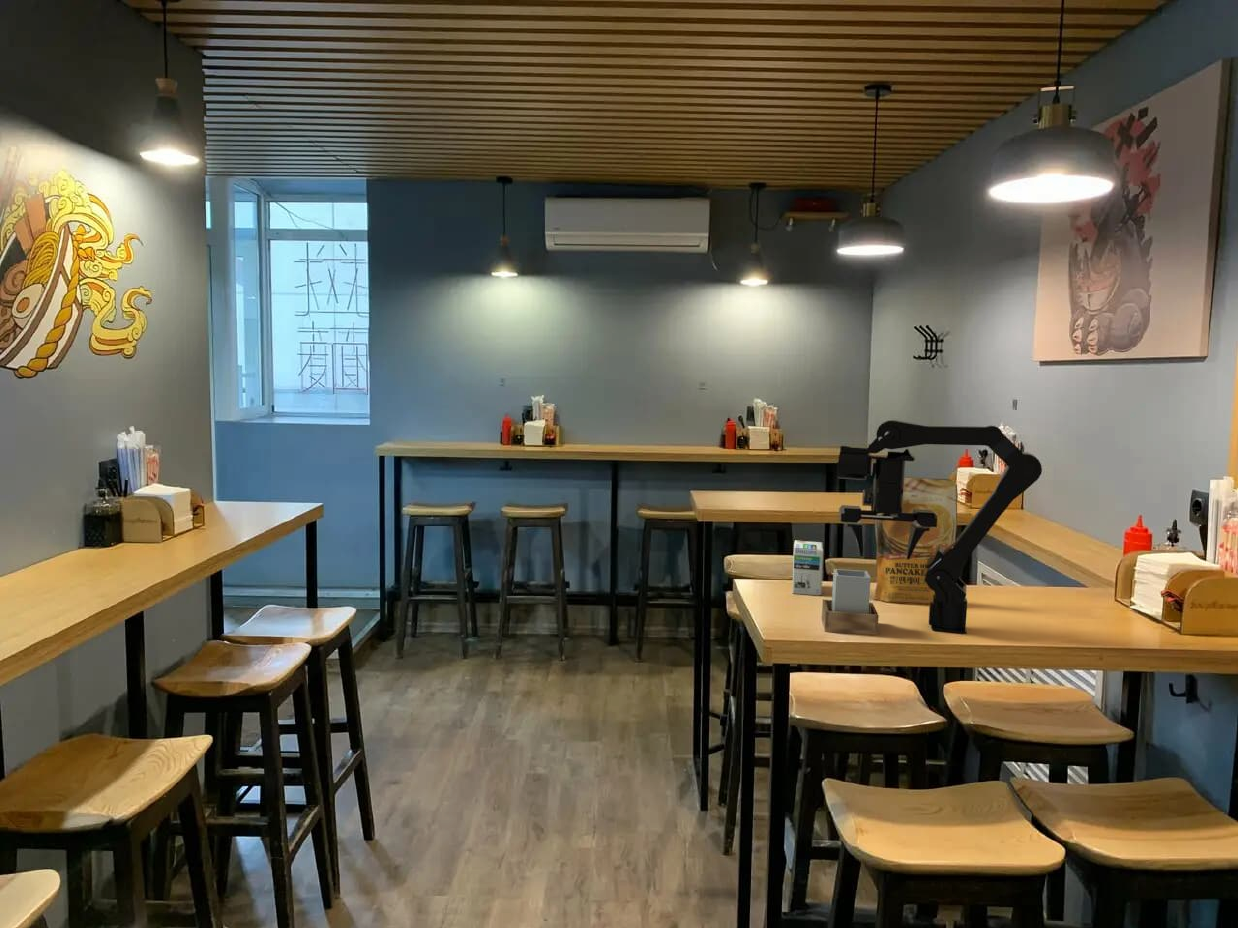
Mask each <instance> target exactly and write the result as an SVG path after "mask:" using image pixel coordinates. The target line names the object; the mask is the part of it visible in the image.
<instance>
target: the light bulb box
mask: <svg viewBox="0 0 1238 928" xmlns="http://www.w3.org/2000/svg"><path fill="white" fill-rule="evenodd" d="M792 557H793V558H792V564H793V565H792V591H791V592H792V594H794V595H795V594H797V595H809V596H819V595H821V596H822V590H823V574H824V573H823V569H824V568H823V566H824V548H823V542H821V541H808V540H807V541H806V540H805V541H804V540H798V539H797V540H796V539H795V540H794V543H793V556H792Z"/></svg>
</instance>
